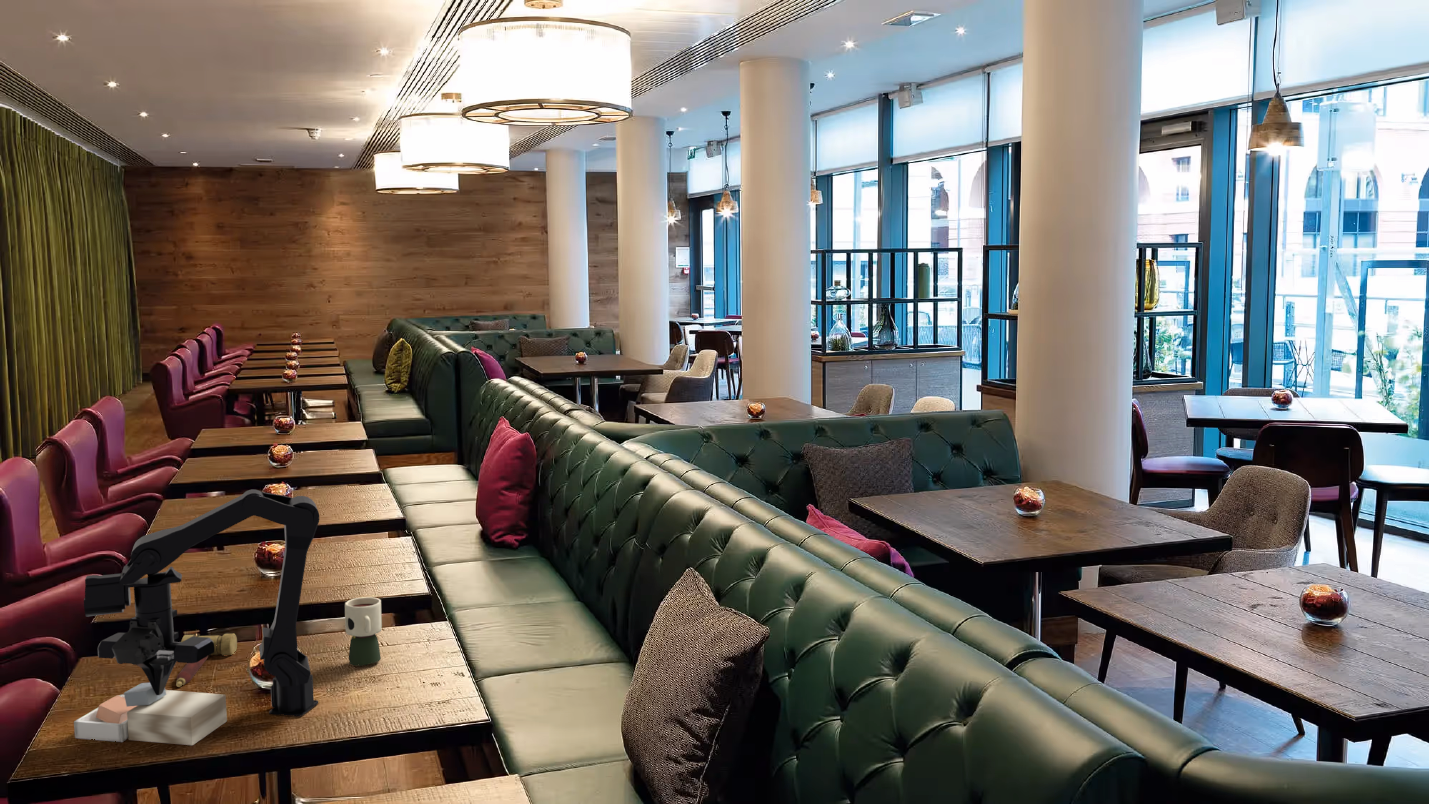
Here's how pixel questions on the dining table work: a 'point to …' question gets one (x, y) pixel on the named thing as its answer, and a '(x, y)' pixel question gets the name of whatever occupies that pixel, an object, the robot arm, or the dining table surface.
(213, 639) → the gavel
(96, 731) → the box
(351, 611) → the character mug
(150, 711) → the wooden square block
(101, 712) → the terracotta tile
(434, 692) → the dining table surface
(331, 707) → the dining table surface
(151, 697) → the slate tile
